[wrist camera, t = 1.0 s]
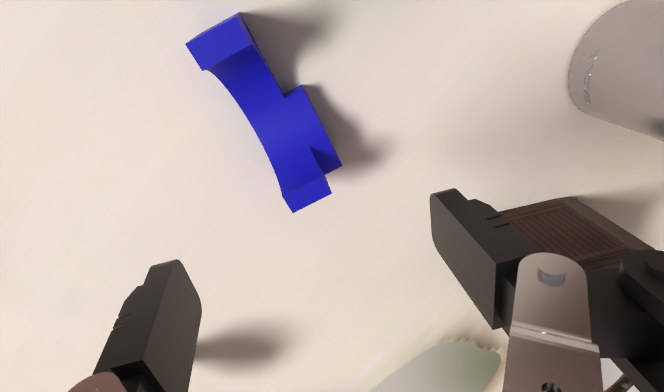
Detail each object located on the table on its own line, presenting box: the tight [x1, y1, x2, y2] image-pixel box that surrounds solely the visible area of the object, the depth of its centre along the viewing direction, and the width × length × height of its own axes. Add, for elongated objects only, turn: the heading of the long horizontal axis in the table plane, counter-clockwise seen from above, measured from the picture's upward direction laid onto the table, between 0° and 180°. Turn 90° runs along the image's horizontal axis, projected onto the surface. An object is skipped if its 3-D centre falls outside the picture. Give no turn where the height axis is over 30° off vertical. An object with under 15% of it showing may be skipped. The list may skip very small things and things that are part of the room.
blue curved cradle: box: [186, 12, 342, 213], centre depth 25 cm, size 12×4×6 cm, turn 25°
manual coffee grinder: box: [498, 197, 655, 392], centre depth 33 cm, size 16×11×18 cm
